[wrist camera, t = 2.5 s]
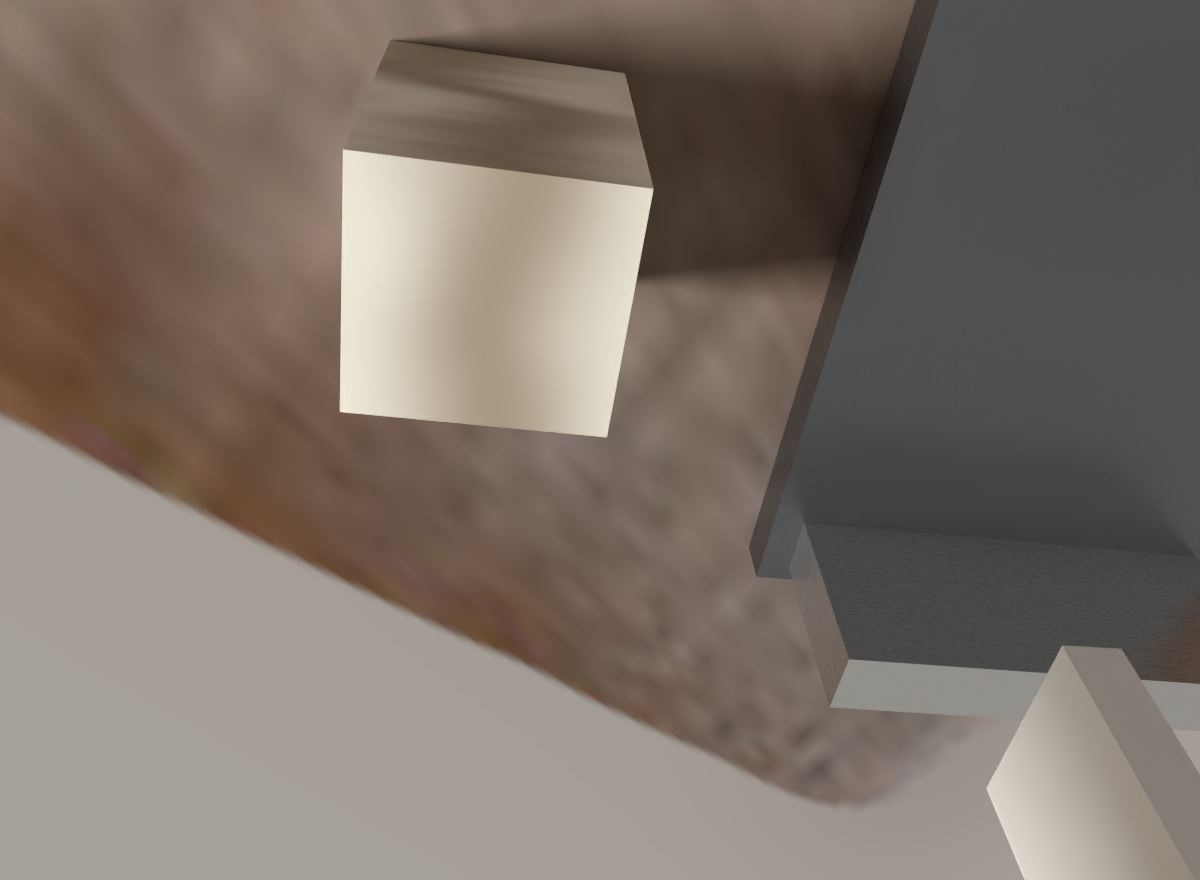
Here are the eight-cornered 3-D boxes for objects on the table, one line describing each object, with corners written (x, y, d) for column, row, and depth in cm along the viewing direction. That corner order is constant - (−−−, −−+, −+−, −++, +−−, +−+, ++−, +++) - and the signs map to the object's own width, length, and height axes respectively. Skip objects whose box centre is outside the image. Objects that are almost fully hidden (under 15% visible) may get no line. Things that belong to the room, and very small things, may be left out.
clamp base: (749, 547, 37) (791, 716, 30) (1015, -326, 23) (1194, -338, 16) (1168, 582, 39) (1286, 747, 32) (1651, -200, 25) (2021, -168, 18)
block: (382, 256, 30) (339, 412, 23) (390, 39, 26) (343, 149, 20) (591, 280, 30) (606, 437, 24) (624, 72, 27) (653, 189, 21)
